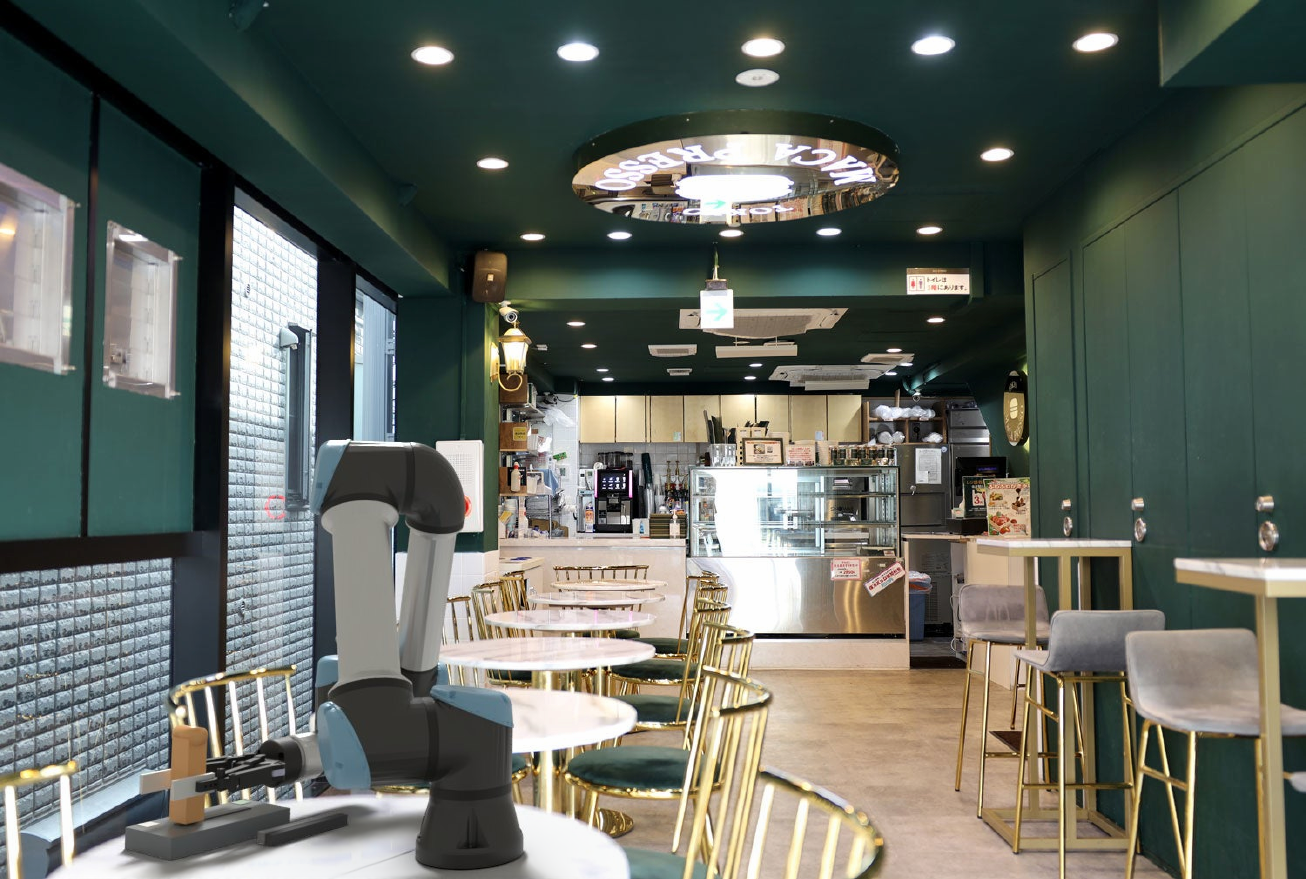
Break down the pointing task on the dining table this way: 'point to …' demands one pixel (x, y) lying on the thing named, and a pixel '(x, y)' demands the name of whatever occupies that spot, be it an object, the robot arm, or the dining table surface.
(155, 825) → the base
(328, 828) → the grooved grey bar
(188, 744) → the handle
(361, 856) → the dining table surface
